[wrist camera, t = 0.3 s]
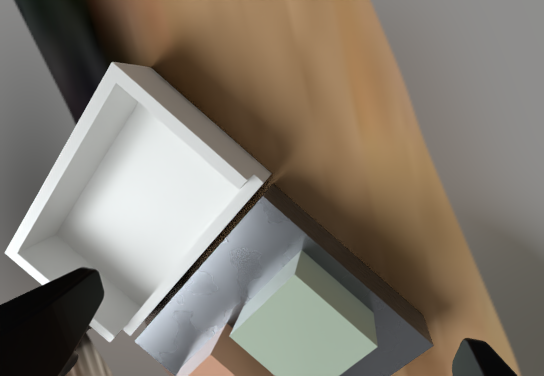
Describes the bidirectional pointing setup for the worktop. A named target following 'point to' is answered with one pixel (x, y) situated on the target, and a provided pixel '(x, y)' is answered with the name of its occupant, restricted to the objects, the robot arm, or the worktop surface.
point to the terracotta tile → (223, 359)
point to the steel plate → (261, 269)
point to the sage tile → (305, 323)
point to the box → (135, 196)
